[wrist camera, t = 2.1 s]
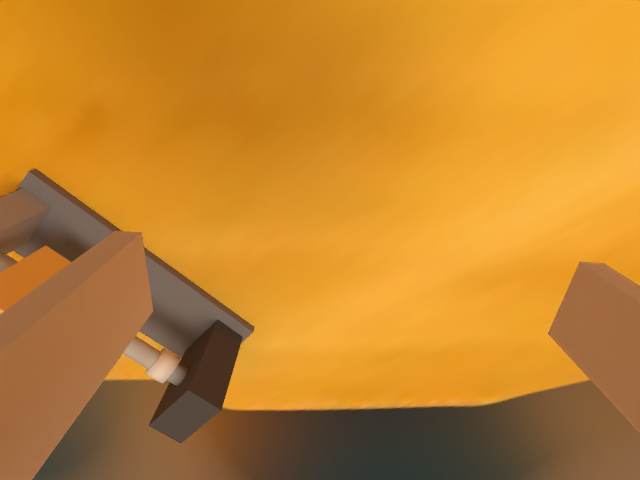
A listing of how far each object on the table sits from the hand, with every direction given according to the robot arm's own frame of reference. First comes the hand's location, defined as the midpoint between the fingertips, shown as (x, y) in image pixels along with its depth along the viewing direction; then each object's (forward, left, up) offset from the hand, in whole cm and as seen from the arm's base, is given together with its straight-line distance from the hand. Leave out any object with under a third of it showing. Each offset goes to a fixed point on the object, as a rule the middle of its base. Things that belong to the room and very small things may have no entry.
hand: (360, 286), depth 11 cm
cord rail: (-5, -29, -27) cm, 40 cm away
